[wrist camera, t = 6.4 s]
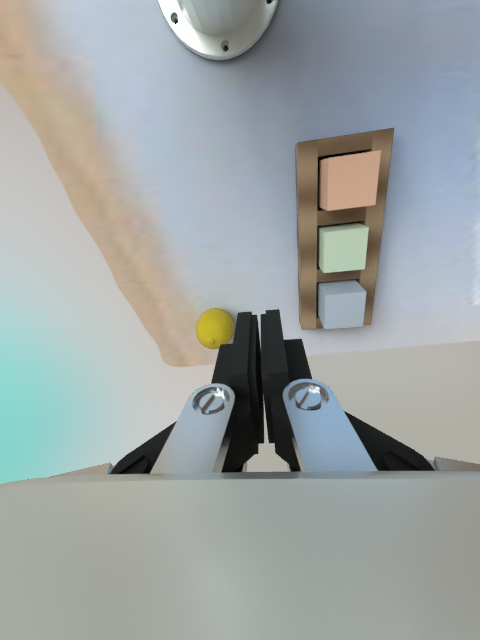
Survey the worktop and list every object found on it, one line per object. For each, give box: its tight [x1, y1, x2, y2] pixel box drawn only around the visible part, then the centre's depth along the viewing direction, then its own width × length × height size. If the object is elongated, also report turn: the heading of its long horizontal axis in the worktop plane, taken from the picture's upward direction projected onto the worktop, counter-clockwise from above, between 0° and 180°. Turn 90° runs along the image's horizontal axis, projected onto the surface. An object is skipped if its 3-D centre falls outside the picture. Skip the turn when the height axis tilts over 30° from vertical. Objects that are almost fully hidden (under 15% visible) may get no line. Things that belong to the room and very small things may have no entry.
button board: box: [295, 128, 394, 330], centre depth 36 cm, size 24×10×3 cm, turn 7°
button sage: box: [317, 222, 369, 273], centre depth 34 cm, size 5×5×5 cm
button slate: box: [317, 279, 366, 329], centre depth 37 cm, size 5×5×5 cm
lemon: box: [196, 308, 233, 349], centre depth 40 cm, size 6×6×8 cm
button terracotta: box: [319, 150, 381, 211], centre depth 30 cm, size 5×5×5 cm
